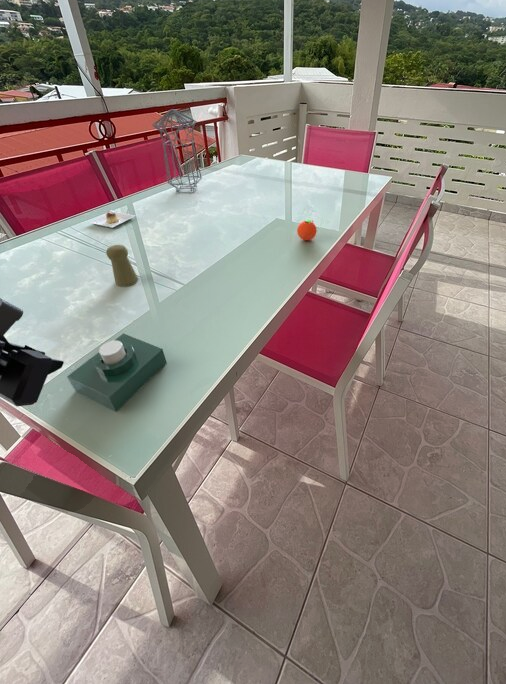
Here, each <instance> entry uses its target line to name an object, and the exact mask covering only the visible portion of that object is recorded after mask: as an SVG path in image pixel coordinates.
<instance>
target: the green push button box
mask: <svg viewBox="0 0 506 684" xmlns="http://www.w3.org/2000/svg"><path fill="white" fill-rule="evenodd" d="M114 340H117V341H120V342H121V343H122V345H123V347H124V350H125V352H126V356H125V358H124V359H123V360H121V361H120V362H118V363H115V364H112V365H107V364H105V363H104V362H103V360H102V358H101V356H100V353H99V351H98V352H97V353H95V354H94V355H93V356H91V357H90V358H89V359H88V360H86V361H85V362H84V363H82V364H81V365H80V366H78V367H77V368H76V369H75V370H73V371H72V372H71V373H69V374H68V375H67V376H66V378H67V379H68V381H69V382H70V385H71V387H72V388H73V390H74V391H75V392H77V393H78V394H81V396H82V395H83V396H85V397H86V398H87V399H90V400H92V401H94V402H96V403H98V404H100V405H102V406H104V407H106V408H108V409H110V410H112V411H114V412H115V413H116V412H118V411H119V410H120V409H121V408H122V407H123V406H124V405H125V404H126V403H127V402H129V400H130V399H131V398H132V397H134V396H135V394H137V393H138V391H140V390H141V389H142V388H143V387H144V386H145V385H146V384H147V383H148V382H149V381H150V380H151V379H153V377H154V376H155V375H156V374H157V373H158V372H159V371H160V370H161V369H162V368H164V367H165V366H166V365H167V364H168V362H167V359H166V356H165V355H166V354H165V352H164V349H163V348H161V347H159V346H158V345H157V346H156V345H154V344H151V343H149V342H146V341H144V340H141V339H139V338H136V337H134V336H131V335H129V334H126V333H124V332H123V333H122V334H120V335H119V336H118V337H116V338H115V339H114Z"/></svg>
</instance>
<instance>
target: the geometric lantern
mask: <svg viewBox="0 0 506 684" xmlns="http://www.w3.org/2000/svg"><path fill="white" fill-rule="evenodd" d="M173 115H174V117H175V120H173ZM187 119H188V120H187ZM196 123H197V120H195V119H193V118H191V117H190V116H188V115H187V114H184V113H182V112H180V111H179V110H176V109H175V108H171V109H169V110H168V112H166V113H165V114H163V115H162V116H161V117H159V119H157V120H156V121H155V122H154V123H152V125H151V126H152V127H153V128H155V129H156V130H158V131H159V132H160V137H161V142H162V147H163V156H164V162H165V163H164V164H165V172H166V181H167V184H168V185H170V186H172V187H173V188H175V191H176V193H177V194H194V193H195V192H196V190H197V189H198V183H199V182H200V181H201V180H202V179H203V177H202V173H201V169H200V165H199V161H198V156H197V152H196V147H195V143H194V142H195V141H194V140H195V139H194V128H195V125H196ZM168 124H169V125H168ZM176 124H179V125H176ZM166 128H170V130H171V132H170V133H168V132H167V129H166ZM173 129H176V130H175V131H173ZM180 130H181V131H182V130H183V131H184V132H185V134H186V138H185V139H180V138H179V137H178V134H179V132H180ZM186 130H187V131H186ZM163 133H164V135H165V136H164V137H163ZM189 134H191V136H192V138H190V136H189ZM169 135H171V136H172V135H174V138H173V139H171V138H170V137H169ZM166 138H168V140H166ZM176 140H177V141H178V142H179V143H180V144H176ZM182 141H184V143H183V142H182ZM187 141H190V142H189V143H187ZM173 142H174V144H172V143H173ZM186 143H187V144H186ZM190 144H191V148H192V153H193V160H194V165H195V170H196V175H195V174H194V169H193V165H192V160H191V156H190V152H189V148H188V146H189V145H190ZM166 146H170V149H171V150H170V151H171V157H172V164H173V173H174V177H173V178H172V176H171V172H170V164H169V159H168V154H167V149H166ZM173 146H174V149H175V155H176V161H177V166H178V173H179V175H177V173H176V166H175V165H176V164H175V157H174V150H173ZM177 146H178V147H179V146H181V148H182V153H183V159H184V165H185V169H186V170H185V171H186V174H187V175H182V173H181V167H180V161H179V156H178V148H177ZM184 146H185V148H186V151H187V152H186V153H187V156H188V160H189V166H190V169H191V175H190V174H189V169H188V164H187V159H186V158H187V157H186V153H185V148H184ZM178 178H180V181H179V179H178ZM182 178H187V180H188V182H183V179H182ZM190 178H193V182H192V183H191V179H190ZM195 178H196V179H195ZM175 179H176V181H177V183H173V181H174V180H175ZM180 189H181V190H182V189H183V190H186V189H187V190H190V191H179V190H180Z"/></svg>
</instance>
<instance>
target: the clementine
mask: <svg viewBox="0 0 506 684" xmlns="http://www.w3.org/2000/svg"><path fill="white" fill-rule="evenodd" d="M317 230H318V229H317V226H316V224H315V223H314V221H313V220H311V219H307V220H303V221H301V222H300V223H299V224H298V226H297V230H296V232H297V235H298V237H299V238H300V239H301V240H303V241H312V240H313V239H314V238H315V237H316V235H317V232H318V231H317Z"/></svg>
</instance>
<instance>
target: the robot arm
mask: <svg viewBox="0 0 506 684" xmlns="http://www.w3.org/2000/svg"><path fill="white" fill-rule="evenodd" d="M23 315H24V310H23V309H22V308H19V307H17V306H16V305H14V304H12V303H10V302H9V301H7V300H5V299H3V298H1V297H0V398H1V399H3V400H5V401H7V402H8V403H9V404H12V405H13V406H15V407H24V406H33V405H34V404H36V403H37V402H38V400H39V398H40V395H41V393H42V390H43V388H44V386H45V384H46V381H47V378H48V376H49V375H51V374H53V373H54V372H57V371H58V370H60V369H62V368H63V366H64V363H65V362H64V360H61V359H56V358H52V357H50V356H48V355H47V354H46V352H44V351H42V350H39V349H35V348H34V347H31V346H29V345H27V344H25V345H24V346H23V345H19V344H16V343H13V342H9V341H8V339H7V338H6V337H5V334H6V333H7V332H8V331H9V330H10V329H11V328H12V326H13V325H14V324H15V323H16V322H18V321H20V319H22V317H23Z"/></svg>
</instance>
